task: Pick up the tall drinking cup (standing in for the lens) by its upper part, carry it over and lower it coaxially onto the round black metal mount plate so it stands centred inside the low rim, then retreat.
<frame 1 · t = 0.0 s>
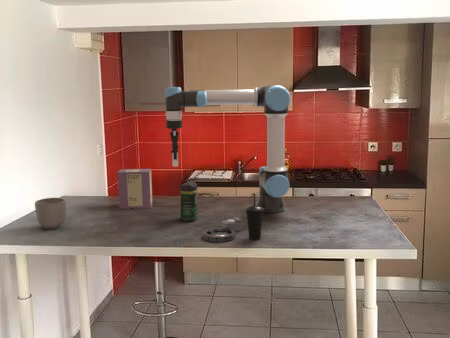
hand: (175, 163, 253), 28 cm above the table, fingers open, 13 cm apart
box: (136, 206, 286), on the table
mount plate: (219, 237, 230), on the table
coffee jar: (189, 219, 259), on the table
planter: (52, 228, 248), on the table
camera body: (232, 229, 242), on the table
drinking cup: (254, 239, 228), on the table
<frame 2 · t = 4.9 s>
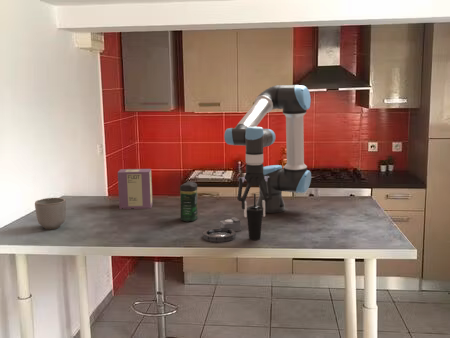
hand: (254, 215, 226), 10 cm above the table, fingers closed on drinking cup, 7 cm apart
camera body: (230, 230, 241), on the table
drinking cup: (254, 239, 228), on the table, touching gripper
everything else where it was.
when the fingers open (11 cm above the table, at t = 9.4 s): drinking cup stays where it is, resting on mount plate.
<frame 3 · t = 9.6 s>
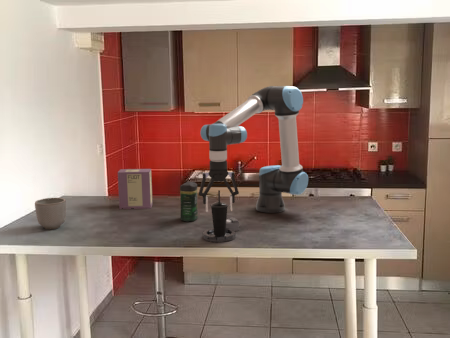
hand: (219, 210, 228), 12 cm above the table, fingers open, 10 cm apart
drinking cup: (219, 235, 230), point 1 cm above the table, touching mount plate
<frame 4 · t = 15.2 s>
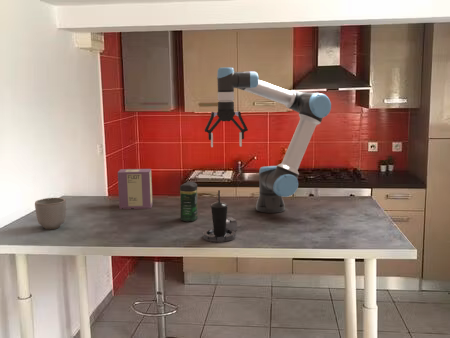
hand: (226, 146, 248), 37 cm above the table, fingers open, 13 cm apart
at the end: drinking cup 0.1 cm off-centre on the mount plate, point 0.8 cm above the mount plate's base; drinking cup tilted 0°; the gripper is holding nothing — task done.
